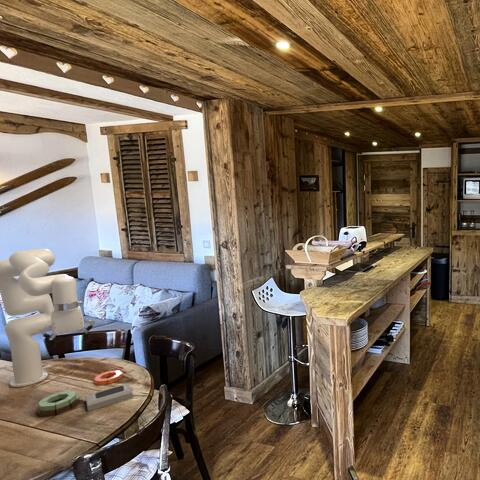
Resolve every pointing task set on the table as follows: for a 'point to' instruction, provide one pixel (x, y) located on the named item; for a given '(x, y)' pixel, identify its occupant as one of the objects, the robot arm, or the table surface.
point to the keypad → (108, 397)
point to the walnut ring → (58, 411)
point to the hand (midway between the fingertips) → (70, 344)
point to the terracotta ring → (101, 381)
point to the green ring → (68, 396)
